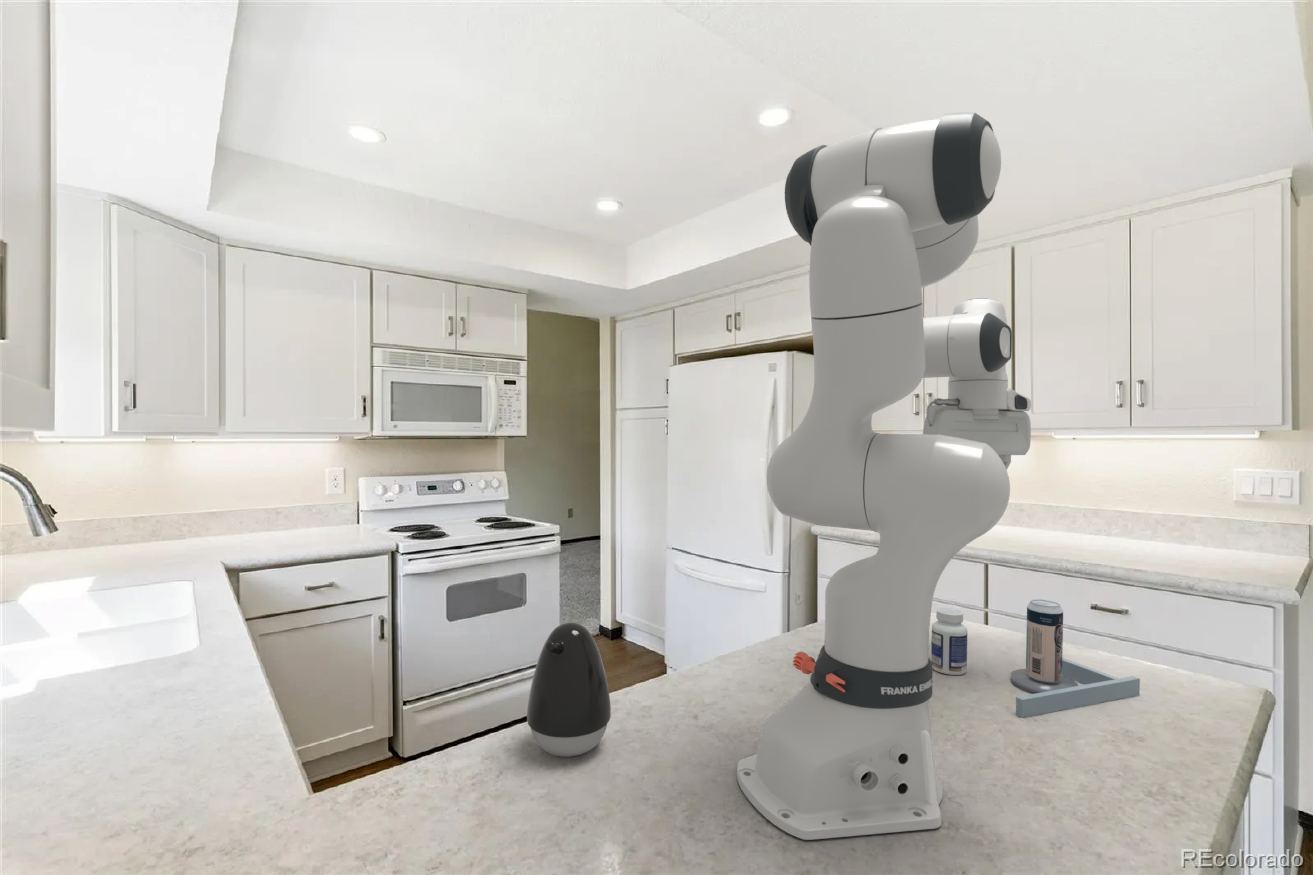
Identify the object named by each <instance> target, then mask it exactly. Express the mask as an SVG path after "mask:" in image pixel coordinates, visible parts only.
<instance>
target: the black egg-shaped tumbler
mask: <svg viewBox="0 0 1313 875" xmlns="http://www.w3.org/2000/svg"><path fill="white" fill-rule="evenodd" d="M528 695H529V696H528V701H527V711H526V721H527V724H528V726H529V728H530V732H531V735H532V737H533V739H534V741H535V742H536V744H537V745H538V747H539V748H541V749H542V750H543V751H544V752H546V753H548V754H550V755H553V756H558V757H564V758H567V757H568V758H569V757H577V756H579V755H583V754H586V753H587V752H589V751H591V750H592V749H594V748H595V747H596V746H597V745H598V744H599V742H600V741H601V740H602V738H603V737H604V735H605V732H606V730H607V726H608V723H609V722H610V720H611V715H612V712H611V711H612V709H611V708H612V707H611V706H612V705H611V697H610V690H609V684H608V679H607V674H606V669H605V666H604V663H603V660H602V656H601V653H600V650H599V647H598V645H597V643H596V640H595V638H594V637H593V635H592V633H591V632H590V631H589V630H588V629H587V627H585V626H584V625H583V624H580V623H577V622H564V623H562V624H560V625H558V626H556V627H555V628H554V629H553V630H552V631H551V632H550V633H549V636H548V637H547V639H546V640H545V642H544V644H543V646H542V649H541V650H540V654H539V656H538V660H537V663H536V666H535V669H534V673H533V677H532V681H531V686H530V690H529V694H528Z"/></svg>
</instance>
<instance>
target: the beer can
mask: <svg viewBox="0 0 1313 875" xmlns="http://www.w3.org/2000/svg"><path fill="white" fill-rule="evenodd" d="M1063 610H1064V609H1063V608H1062V606H1061V604H1060V603H1058V602H1056V601H1052V600H1046V599H1031V600H1030V602H1029V603H1028V604H1027V606H1026V637H1025V639H1026V640H1025V641H1026V642H1025V648H1026V649H1025V669H1026V674H1027V675H1028V676H1029V677H1030V678H1031V679H1033V680H1035V681H1037V682H1041V683H1045V684H1055V683H1058V682H1060V681H1061V680H1062V658H1063V650H1064V649H1063V648H1064V647H1063V644H1064V639H1063V638H1064V611H1063Z"/></svg>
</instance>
